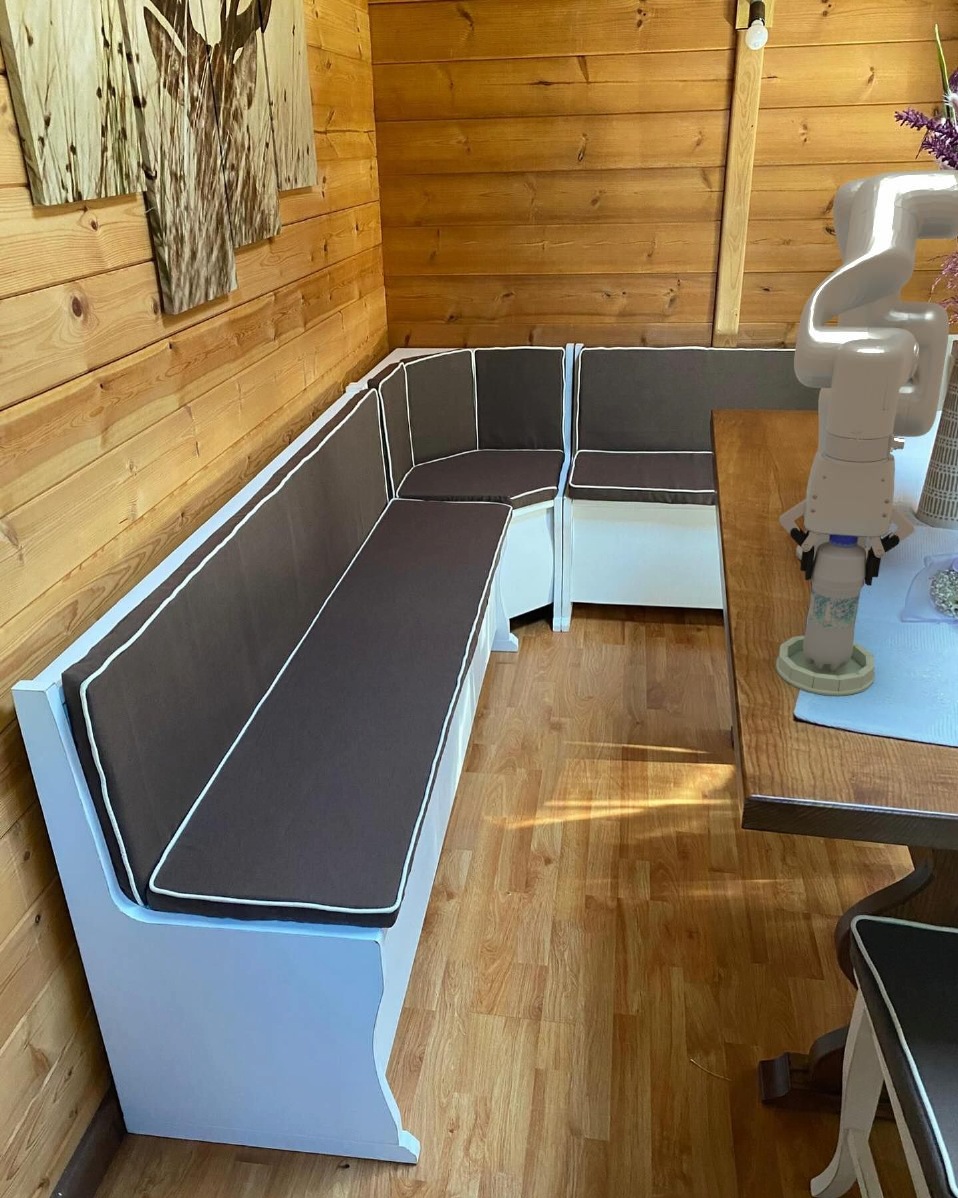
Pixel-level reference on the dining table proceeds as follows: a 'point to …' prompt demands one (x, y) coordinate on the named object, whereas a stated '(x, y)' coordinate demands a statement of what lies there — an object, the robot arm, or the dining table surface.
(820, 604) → the bottle
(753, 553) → the dining table surface
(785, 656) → the dish
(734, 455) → the dining table surface
